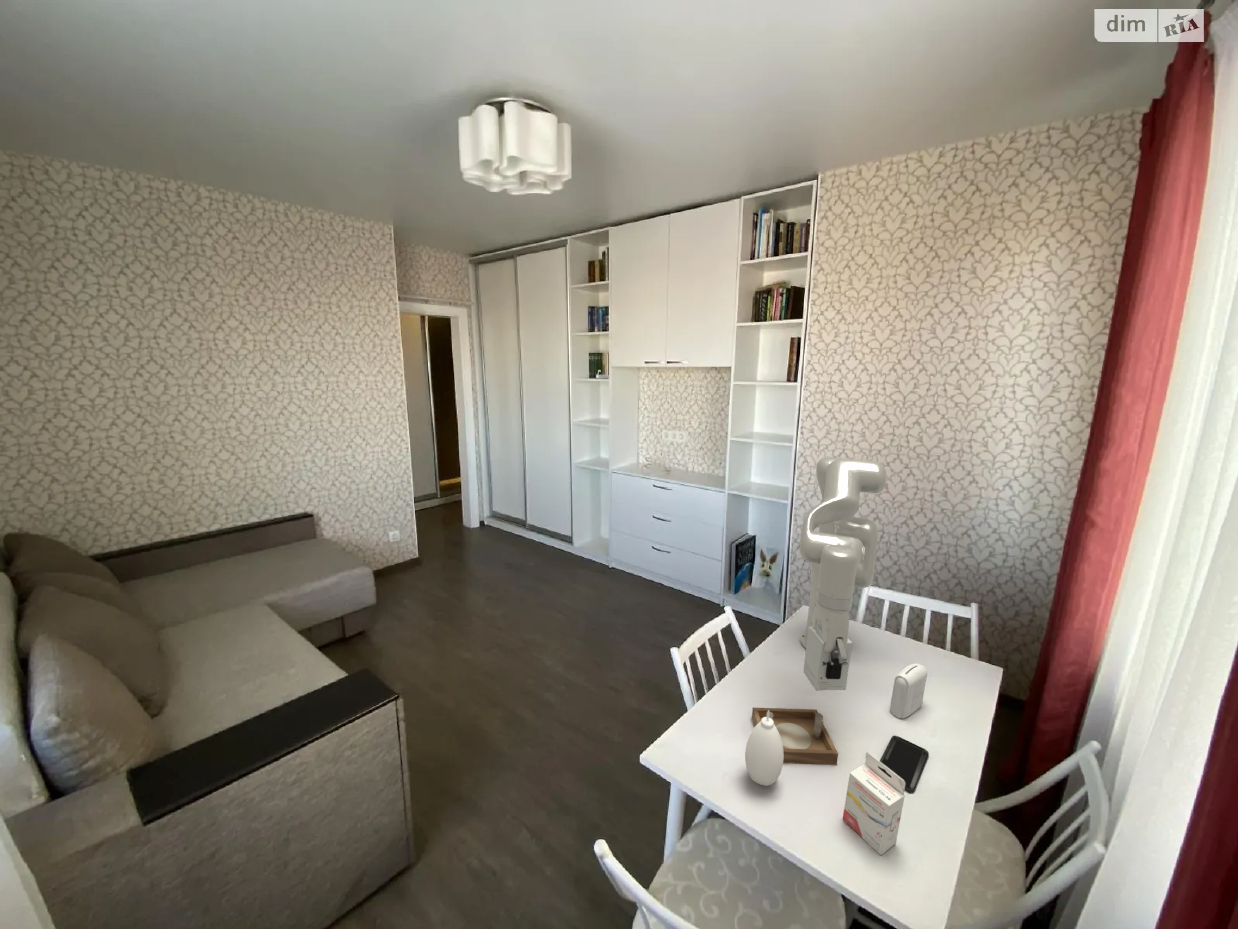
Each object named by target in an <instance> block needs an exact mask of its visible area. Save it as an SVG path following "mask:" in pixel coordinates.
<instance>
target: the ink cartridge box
mask: <svg viewBox="0 0 1238 929" xmlns="http://www.w3.org/2000/svg"><path fill="white" fill-rule="evenodd" d="M878 766H879V767H881V768H882V769H885V770H886V772H887V773H888V774H890V775H891V777H892V778H890V777H889V776H888V775H886V774H885V773H884V772H882V771H881V770H880V769H879V768H878ZM904 790H905V781H904V780H903V779H902V778H900V777H899V776H898V775H897V774H895V773H894V772H893V771H892V770H890V769H889V768H888V767H886V766H885V765H884V764H883V763H881V762H880V760H879V759H878V758H876V757H875V756H873V755H872V754H871V753H870V752H868V751H867V752H866V753H865V762H864V763H863V764H861V765H860V766H858V767H856V768H855V769H854V770H852V771H850V773H849V777H848V783H847V790H846V795H845V800H844V808H843V814H842V821H844V822H845V824H847V825H848V826H849V827H851V829H853V831H854V832H855V833H857V834H858V835H859V837H861V838H862V839H863V840H864V841H865V843H867V844H868V845H869V846H871V848H872V849H874V851H875V852H877V853H878V854H879V856H882V855H883V854H885V853H886V852H887V851H889V849H891V848H892V847H893V846H894V845H895V844H896V843H897V838H898V834H899V828H900V823H901V818H902V812H903V807H904V801H905V797H906V795H905V791H904Z"/></svg>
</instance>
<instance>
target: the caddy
mask: <svg viewBox="0 0 1238 929" xmlns="http://www.w3.org/2000/svg"><path fill="white" fill-rule="evenodd" d="M768 710H769V718H771V719H772V720H773V721H774V725H775V726H776V728H777V730H778V732H779V734H780V737H781V740H782V745H783V752H784V759H783V764H802V765H803V764H805V765H833V766H834V765H835V766H837V765H838V759H839V752H838V750H837V748H836V746H835V744H834V742H833V740H832V738H831V736H830V734H829V732H828V730H827V728H826V726H825V724H824V721H823V719H824V715H823V714H821V713H819V711H818V709H813V708H812V709H810V708H807V709H806V708H786V707H785V708H781V707H779V708H778V707H755V706H754V707H752V711H751V720H752V723H753V726H754V727H755V726H756V725H757V724H758V723H759V722H760V721H761V719H762V718H763V717H767V712H768ZM754 727H753V728H754Z"/></svg>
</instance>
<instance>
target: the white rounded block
mask: <svg viewBox="0 0 1238 929" xmlns="http://www.w3.org/2000/svg"><path fill="white" fill-rule="evenodd" d="M927 677H928V671H927V669H926V667H925V666H924V665H922V664H920V663H912V664H909V665H907V666H905V667H903V669H901V670H900V671H899V672H898V673H897V674H896V675H895V677H894V683H893V688H892V692H891V693H892V694H891V698H890V699H891V700H890V704H889V705H890V706H889V711H890V712H891V714H892V715H893V716H895V717H897V718H899V719H906V718H908V717H909V716H911V715H912V714H914V713H915V712H916V711H918V710H919V709H920V708H921V707H922V705H923V699H924V695H925V689H926V684H927Z"/></svg>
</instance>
